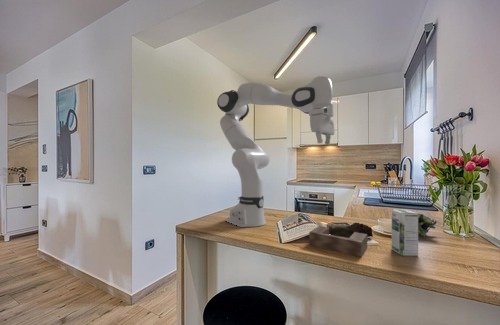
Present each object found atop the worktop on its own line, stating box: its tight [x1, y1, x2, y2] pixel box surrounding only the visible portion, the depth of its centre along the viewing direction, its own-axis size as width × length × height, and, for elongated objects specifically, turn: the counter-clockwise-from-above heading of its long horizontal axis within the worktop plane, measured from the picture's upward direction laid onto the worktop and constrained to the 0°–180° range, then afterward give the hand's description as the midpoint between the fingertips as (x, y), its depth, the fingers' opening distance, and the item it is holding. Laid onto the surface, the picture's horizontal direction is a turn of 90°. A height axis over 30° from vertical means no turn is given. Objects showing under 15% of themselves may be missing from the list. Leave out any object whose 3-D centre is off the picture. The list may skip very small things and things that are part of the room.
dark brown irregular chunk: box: [326, 222, 374, 238], centre depth 93 cm, size 18×7×6 cm, turn 69°
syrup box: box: [391, 208, 419, 257], centre depth 75 cm, size 6×6×14 cm
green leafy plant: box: [417, 212, 437, 240], centre depth 91 cm, size 11×11×12 cm
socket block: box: [308, 225, 368, 258], centre depth 81 cm, size 18×10×5 cm, turn 52°
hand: (323, 143), depth 98 cm, fingers open, 8 cm apart
